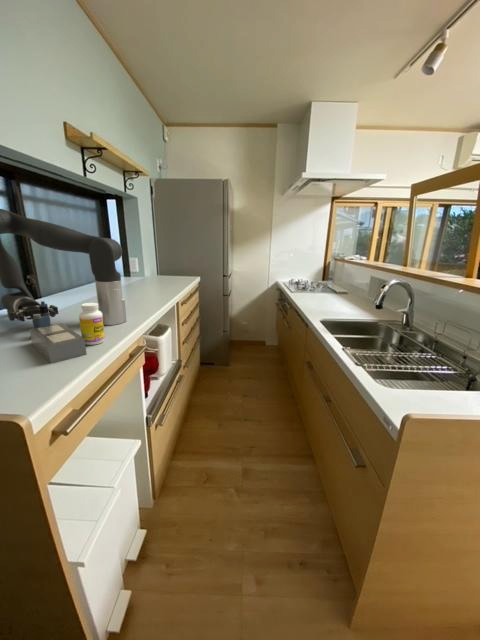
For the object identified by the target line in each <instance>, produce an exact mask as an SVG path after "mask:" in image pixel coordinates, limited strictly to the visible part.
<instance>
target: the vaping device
mask: <svg viewBox="0 0 480 640" xmlns="http://www.w3.org/2000/svg"><path fill="white" fill-rule="evenodd" d="M48 307H49V306H48V303H45V301H40V303H39V309H40V314H34V315H33V319H32V325H33V328H38V327H44V326H50V325H52V323H51V318H50V317H51V316H50V315H49V311H48Z"/></svg>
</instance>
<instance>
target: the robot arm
mask: <svg viewBox="0 0 480 640" xmlns="http://www.w3.org/2000/svg"><path fill="white" fill-rule="evenodd" d="M5 234H10V235H11V234H12V235H18V236H23V237H26V238H29V239H30V240H32V241H33V242H34V243H36V244H38V245H40V246H43V247H46V248H49V249H52V250H57V251H63V252H64V251H65V252H72V253H82V254H87V255H88V257H89V262H90V263H89V264H90V269H91V272H92V275H93V277H94V280H95V281H94V282H95V290H96V299H97V304H98V311H100V312H101V313H102V315H103V326H116V325H121V324H122V323H125V322H127V312H126V309H127V308H126V299H125V298H123V289H122V288H123V287H122V276H121V273H120V272H118V271H117V267H116V261H118V260H120V259H121V257H122V256H123V251H124V250H123V248H122V246H121V244H120V243H119V242H118V241H116V240H115V239H114V238H110V237H102V236H95V235H90V234H86V233H84V232H81V231H78V230H75V229H72V228H69V227H66V226H63V225H59V224H55V223H53V222H52V223H51V222H48V221H44V220H39V219H36V218H35V219H34V218H29V217H26V216H23V215H19V214H17V213H15V212H12V211H11V210H10V211H9V210H6V209H3V208H0V235H5ZM0 284H1V285H2V287H3V288H5V289H14V290H15V289H16V290H19V291H17V292H10V293H6V294H4V295H2V297H1V300H0V303H1V305H2V307H3V308H4V309H5V310H6V312H7V317H8V320H9V321H15V320H17V321H20V322H23V323H24V322H26V321H25V320H28V321H30V320H33V315H34V314H40V309H39V304H40V302H39V301H36V300H35V299H34V297H33V295H32V293H31V292H30V291H29V289H28V287H27V286H26V284H25V282H24V279H23V276H22V272H21V268H20V266H19V264H18V263H17V261H16V260H15V259H14V258H13V256H11V255H10V253H9V252H8V251H7V250H6V249H5V246H4V245H3V242H2V240H1V238H0ZM48 311H49V315H50V317H51V318H55V317H56V315H59V308H58V306H55V305H54V304H49V306H48Z"/></svg>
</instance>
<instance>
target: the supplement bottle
mask: <svg viewBox="0 0 480 640" xmlns="http://www.w3.org/2000/svg"><path fill="white" fill-rule="evenodd" d="M81 310H82V311H81V312H79V315H78V318H79V319H78V320H79V325H80V333H81V335H80V336H82V337H83V338H85V346H86V345H87V346H96V345H99V344H102V343H104V342H105V340H106V339H105V337H106V336H105V329H104V328H105V325H103V315H102V313H101V312H100V311H99V310H98V302H87V303H82V304H81Z"/></svg>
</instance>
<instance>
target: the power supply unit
mask: <svg viewBox="0 0 480 640" xmlns="http://www.w3.org/2000/svg"><path fill="white" fill-rule="evenodd" d="M28 330H29V334H30V338H31V339H30V341H31V345H33V347H34V348H35V349H36V350H37V351H38V352H39V353H40V354H41V355H42V356H43V357H44V358H45V359H46V360H47V361H48V362H49V363H50V364H55V363H58V362H62V361H66V360H70V359H74V358H78V357H82V356H85V355H87V353H88V352H87V346H86V344H85V338H83V337H82V336H81V335H80V334H79V333H77V332H76V331H75V330H73V329H71V328H69V327H68V326H66V325H65V324H64V323H57V324H51V325H50V326H44V327H38V328H34V327H33V328H29V329H28Z"/></svg>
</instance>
